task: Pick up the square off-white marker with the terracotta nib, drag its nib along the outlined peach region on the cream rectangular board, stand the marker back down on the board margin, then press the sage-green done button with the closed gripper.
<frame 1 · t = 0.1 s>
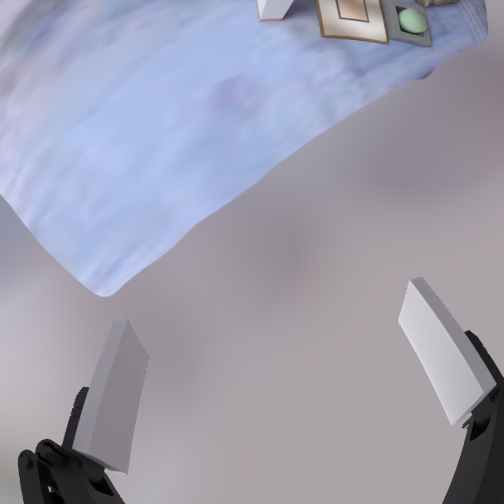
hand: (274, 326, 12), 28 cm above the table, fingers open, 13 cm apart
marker: (268, 12, 24), on the table
button: (411, 21, 22), point 2 cm above the table, slide at 0.0 cm
button housing: (403, 23, 24), on the table
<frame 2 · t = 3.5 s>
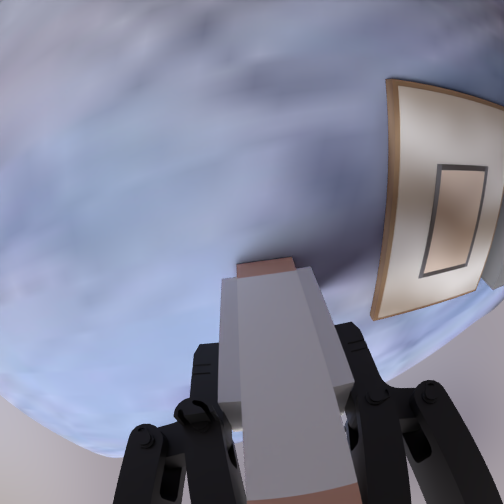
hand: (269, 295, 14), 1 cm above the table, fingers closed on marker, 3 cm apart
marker: (267, 282, 14), on the table, touching gripper
cream rectangular board: (451, 209, 13), on the table
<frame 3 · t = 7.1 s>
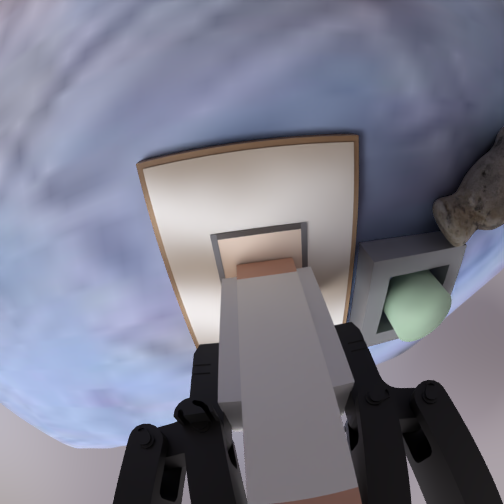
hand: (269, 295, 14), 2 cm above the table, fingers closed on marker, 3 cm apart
stone: (477, 176, 13), on the table
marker: (267, 283, 14), point 1 cm above the table, touching gripper
button: (415, 303, 14), point 2 cm above the table, slide at 0.0 cm
cream rectangular board: (263, 271, 15), on the table
button housing: (400, 281, 16), on the table
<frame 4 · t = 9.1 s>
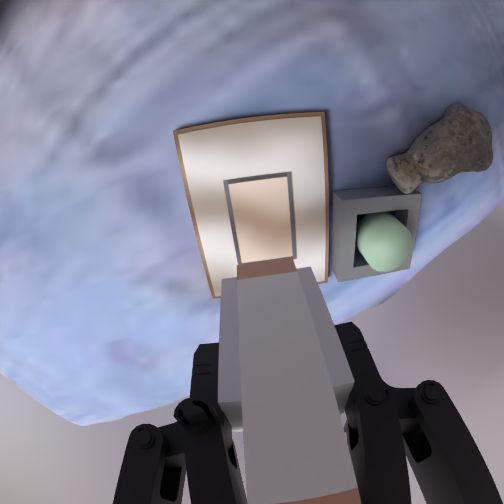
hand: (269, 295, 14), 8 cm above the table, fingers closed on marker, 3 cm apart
stone: (429, 146, 18), on the table
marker: (267, 283, 14), point 7 cm above the table, touching gripper
button: (383, 240, 19), point 2 cm above the table, slide at 0.0 cm
cream rectangular board: (261, 212, 20), on the table
button housing: (371, 227, 21), on the table
when the fingers open (2 cm above the table, at t = 10.7 s): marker stays where it is, resting on cream rectangular board.
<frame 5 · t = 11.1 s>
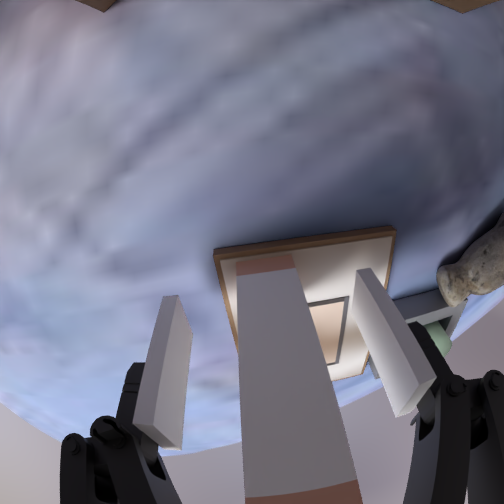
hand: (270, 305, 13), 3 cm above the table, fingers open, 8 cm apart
stone: (477, 245, 16), on the table
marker: (266, 280, 14), point 1 cm above the table, touching cream rectangular board
button: (424, 345, 17), point 2 cm above the table, slide at 0.0 cm
cream rectangular board: (309, 328, 18), on the table
button housing: (412, 325, 19), on the table
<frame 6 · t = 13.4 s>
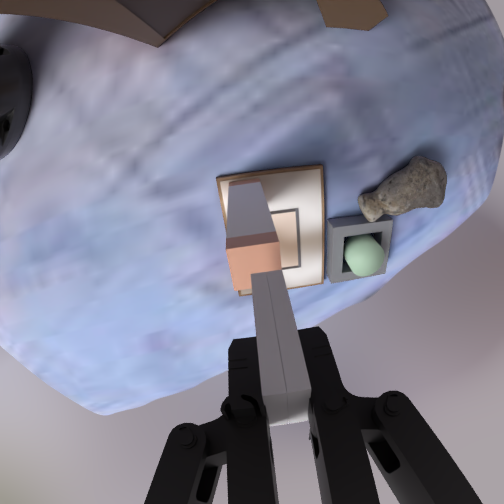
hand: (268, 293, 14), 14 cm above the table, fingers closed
stone: (395, 185, 26), on the table
photo frame: (273, 0, 16), on the table
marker: (246, 194, 25), point 1 cm above the table, touching cream rectangular board
button: (363, 254, 28), point 2 cm above the table, slide at 0.0 cm
cream rectangular board: (276, 234, 28), on the table
button housing: (355, 243, 30), on the table
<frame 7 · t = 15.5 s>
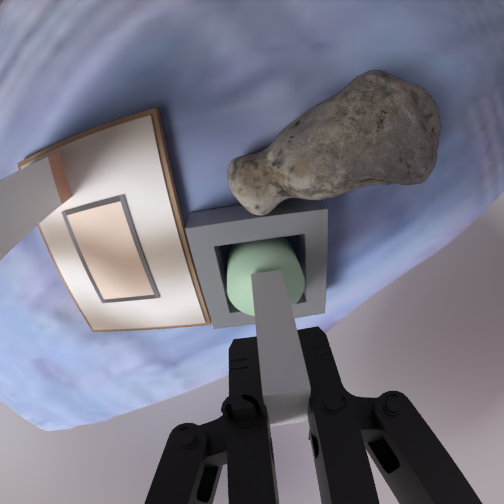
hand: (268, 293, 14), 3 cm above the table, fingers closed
stone: (329, 142, 13), on the table
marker: (49, 180, 12), point 1 cm above the table, touching cream rectangular board
button: (263, 274, 15), point 2 cm above the table, slide at 0.6 cm, touching gripper
cream rectangular board: (111, 243, 15), on the table
button housing: (261, 257, 16), on the table
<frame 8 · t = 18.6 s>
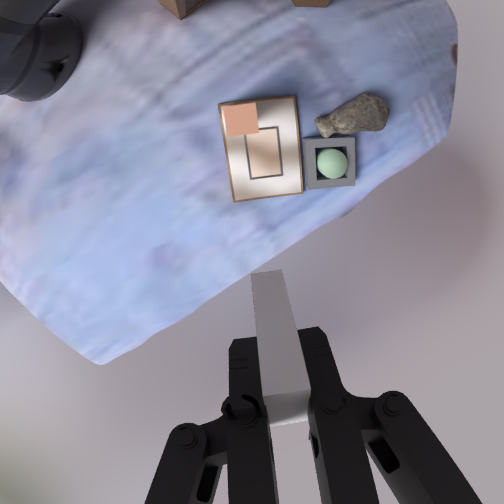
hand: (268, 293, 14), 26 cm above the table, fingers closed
stone: (348, 117, 33), on the table
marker: (239, 115, 32), point 1 cm above the table, touching cream rectangular board
button: (330, 162, 35), point 1 cm above the table, slide at 0.8 cm
cream rectangular board: (262, 148, 35), on the table
button housing: (327, 160, 36), on the table
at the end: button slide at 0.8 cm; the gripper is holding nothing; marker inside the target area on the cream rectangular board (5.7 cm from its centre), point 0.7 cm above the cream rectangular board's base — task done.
